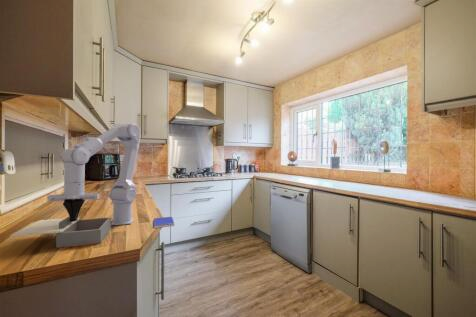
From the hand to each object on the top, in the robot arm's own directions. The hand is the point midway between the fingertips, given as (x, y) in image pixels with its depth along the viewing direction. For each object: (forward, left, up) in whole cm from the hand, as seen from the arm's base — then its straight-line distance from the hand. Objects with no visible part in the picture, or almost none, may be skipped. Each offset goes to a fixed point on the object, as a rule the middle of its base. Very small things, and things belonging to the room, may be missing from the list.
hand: (74, 220), depth 75 cm
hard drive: (-10, +30, -7) cm, 32 cm away
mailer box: (0, +4, -6) cm, 7 cm away
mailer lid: (0, -7, -1) cm, 7 cm away
